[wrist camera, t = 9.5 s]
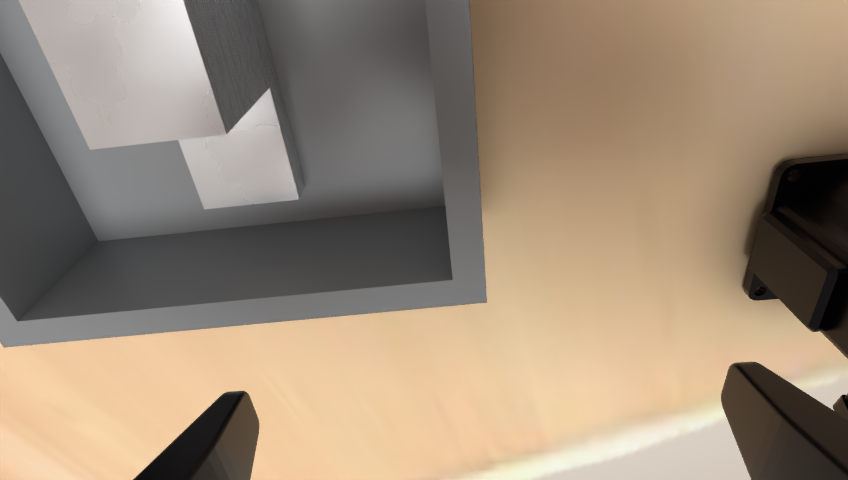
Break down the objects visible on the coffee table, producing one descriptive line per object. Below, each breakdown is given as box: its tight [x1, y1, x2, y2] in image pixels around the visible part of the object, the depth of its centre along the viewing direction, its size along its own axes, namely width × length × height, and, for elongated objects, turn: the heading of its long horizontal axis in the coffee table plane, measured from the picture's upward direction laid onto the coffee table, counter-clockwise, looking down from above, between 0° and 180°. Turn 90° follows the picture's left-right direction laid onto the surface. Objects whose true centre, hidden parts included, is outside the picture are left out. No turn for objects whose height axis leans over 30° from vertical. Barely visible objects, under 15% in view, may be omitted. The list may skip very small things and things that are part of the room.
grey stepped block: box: [19, 0, 305, 209], centre depth 15 cm, size 4×8×6 cm, turn 6°
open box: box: [0, 0, 487, 347], centre depth 15 cm, size 16×15×6 cm
